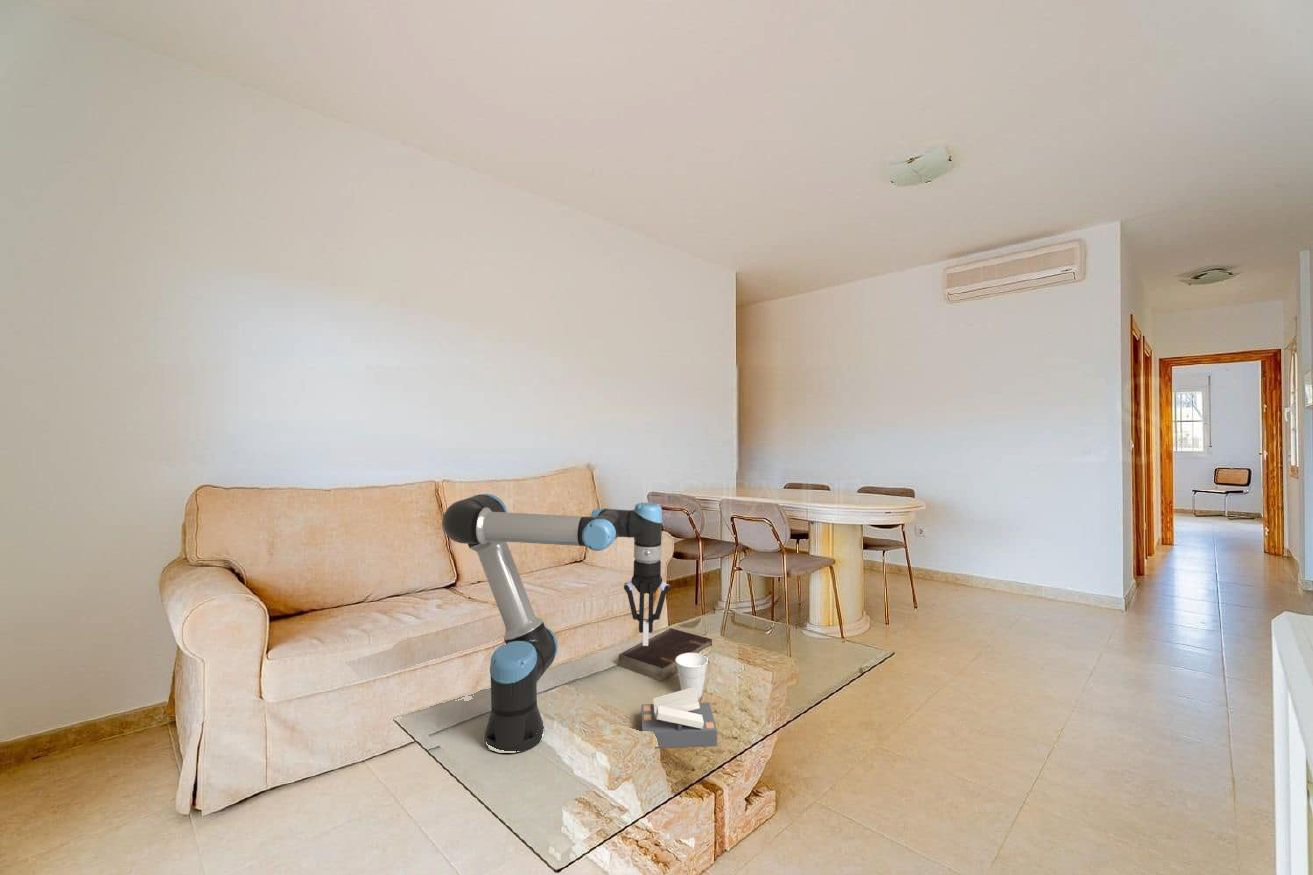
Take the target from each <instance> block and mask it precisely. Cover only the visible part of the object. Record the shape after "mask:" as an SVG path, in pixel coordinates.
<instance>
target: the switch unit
mask: <svg viewBox="0 0 1313 875" xmlns="http://www.w3.org/2000/svg"><path fill="white" fill-rule="evenodd" d="M640 706H641V707H640V708H641V714H640V715H641V731H642V730H643V731H651V732H653V733H654V734H655V736H656V738H657V741H658V745H659V748H658V749H665V748H692V747H693V748H694V747H698V748H700V747H716V746H718V730H717V726H716V722H715V718H714V715H713V711H712V708H711V704H710V702H699V706H700V708H699V709H695V710H691V711H688V712H691V713H695V714H700V715H702V717H703V721H704V725H703V729H701V728H696V727H691V726H687V725H682V724H677V723H672V722H668V721H663V720H656V718H655V714H654V703H653V704H652V703H651V704H650V703H649V704H641V705H640Z"/></svg>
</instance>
